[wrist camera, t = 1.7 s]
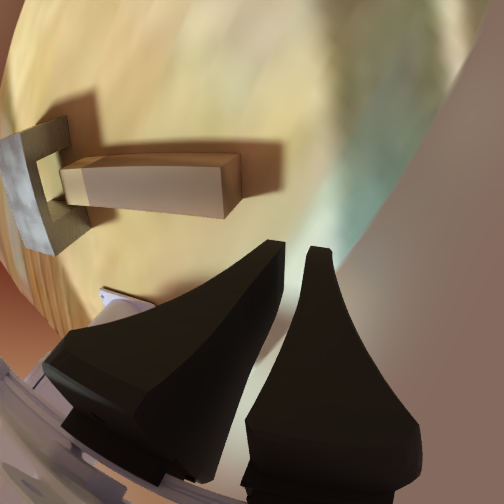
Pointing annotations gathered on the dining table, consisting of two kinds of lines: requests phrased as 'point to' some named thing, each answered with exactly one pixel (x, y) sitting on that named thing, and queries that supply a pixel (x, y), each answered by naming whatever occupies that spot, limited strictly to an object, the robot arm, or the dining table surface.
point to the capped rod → (157, 182)
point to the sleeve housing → (39, 189)
